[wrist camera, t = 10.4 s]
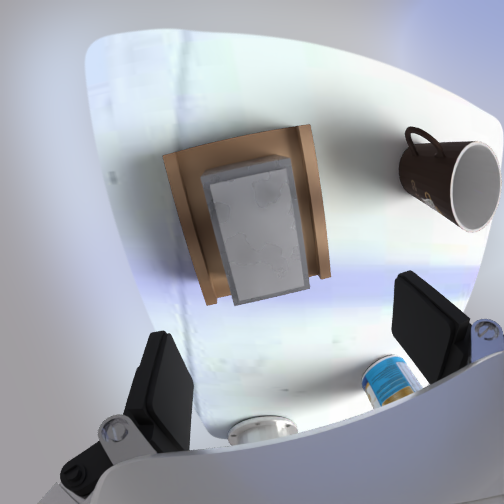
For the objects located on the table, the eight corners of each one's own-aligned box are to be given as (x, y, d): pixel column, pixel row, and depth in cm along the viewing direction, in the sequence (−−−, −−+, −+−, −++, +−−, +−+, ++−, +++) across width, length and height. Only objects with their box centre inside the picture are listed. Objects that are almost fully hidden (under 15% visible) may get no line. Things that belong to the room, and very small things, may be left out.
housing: (276, 154, 22) (291, 158, 17) (295, 262, 26) (311, 291, 21) (205, 169, 22) (199, 177, 17) (232, 276, 26) (234, 308, 21)
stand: (315, 256, 31) (331, 276, 26) (208, 280, 31) (206, 305, 26) (295, 126, 25) (310, 124, 21) (173, 153, 25) (162, 155, 21)
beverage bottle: (411, 352, 39) (471, 439, 21) (388, 387, 42) (434, 471, 24) (373, 353, 38) (433, 456, 20) (351, 389, 41) (394, 487, 22)
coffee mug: (450, 184, 29) (506, 204, 20) (406, 218, 30) (460, 249, 21) (418, 100, 25) (479, 97, 15) (367, 130, 26) (425, 132, 17)
